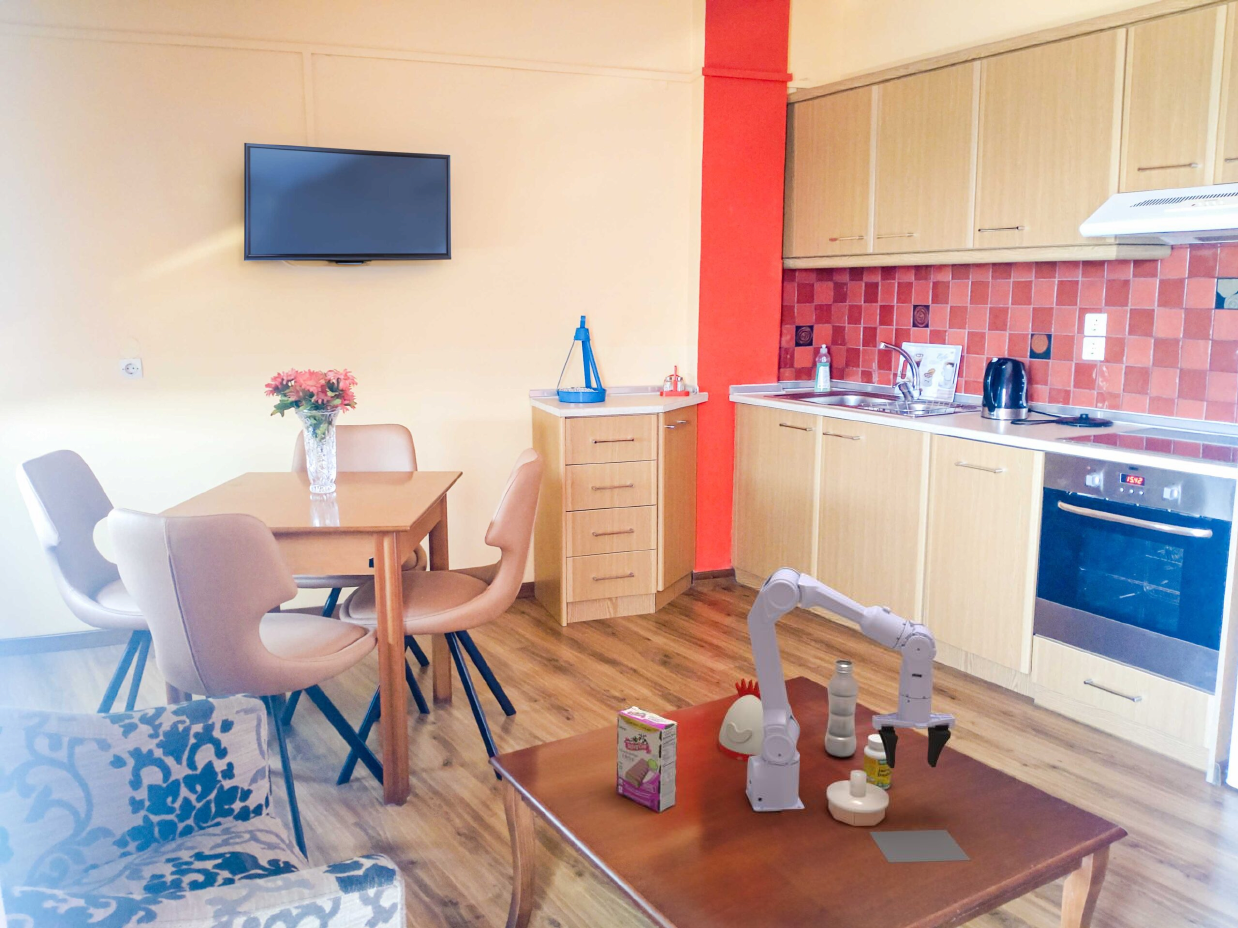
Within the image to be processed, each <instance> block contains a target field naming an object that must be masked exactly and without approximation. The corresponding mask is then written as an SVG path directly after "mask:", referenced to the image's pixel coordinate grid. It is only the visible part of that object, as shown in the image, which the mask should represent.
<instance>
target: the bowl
mask: <svg viewBox="0 0 1238 928" xmlns="http://www.w3.org/2000/svg"><path fill="white" fill-rule="evenodd" d="M828 811H829V812H830V814H831V815H832V817H833V818H834V819H835V820H837V821H840V822H843V823H845V824H848V825H850V826H854V827H858V826H859V827H860V826H862V827H863V826H864V827H865V826H876V825H877V824H878V823H880V822H882V820H883V819H885V817H886V816H885V815H886V814H885V812H886V808H885V809H883V810H881V811H878V812H873V813H858V812H852V811H848V810H844V809H842V808H839V807H837V806H835V805H834V804H832V803H831V802H830V801H829V800H828Z"/></svg>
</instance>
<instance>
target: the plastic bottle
mask: <svg viewBox="0 0 1238 928" xmlns="http://www.w3.org/2000/svg"><path fill="white" fill-rule="evenodd" d="M834 672H835V673H834V674H833V675H832V676H831V678H830V679H829V680H828V683H827V689H826V690H827V698H828V719H827V720H828V721H827V727H826V732H825V738H824V746H825V750H826V752H827V753H828V754H830V755H831V756H834V757H839V758H846V757H850V756H851V757H852V755H853V754H854V753H855V751H856V747H857V737H856V730H855V729H856V728H855V716H856V715H855V713H856V706H857V700H858V694H859V690H860V689H859V683H858V682H857V680H856V679H855V677H854V675H853V673H854V663H853V661H851V660H848V659H838V660H835V662H834Z"/></svg>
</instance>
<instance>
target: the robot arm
mask: <svg viewBox="0 0 1238 928" xmlns="http://www.w3.org/2000/svg"><path fill="white" fill-rule="evenodd" d="M798 604H800V610H803V609H804V610H805V609H810V608H814V607H820V608H821V609H825V610H826V611H828V612H830V613H832V614H835V615H837V616H840V617H841V618H844V619H846V620H847V621H851V622H852V623H855V624H857V625H858V626H859V628H860V631H861V634H862V635H864V636H866V637H868V638H869V639H872V640H873V641H876V642H878V643H880V644H882V645H883V646H884V647H888V648H889V649H892V650H893V651H898V652H900V653H901V655H902V656H901V658H902V659H901V665H900V667H899V681H898V695H897V696H898V697H897V711H894V712H889V713H884V714H876V715H872V722H871V723H872V727H873V728H874V729H875V730H876V731H877V732H878V734H879V735H880V737H881V740H882V743H883V746H884V750H885V755H886V762H887V765H888V766H889V767H890V768H891V769H895V766H896V765H895V764H896V750H897V744H898V740H899V736H898V735H897V734H896V730H895V729H905V728H907V729H910V728H911V729H912V728H913V729H917V730H927V736H928V737H927V738H928V740H927V742H928V745H927V746H928V748H927V764H928V765H929V766H930V767H931V768H936V767H937V763H938V760H939V758H940V756H941V753H942V751H943V749H944V747H945V746H946V744H947V743H948V741H949V740H950V739H951V737H952V736H951V735H952V732H951V731H950V729H955V728H956V727H955V725H956V718H955V716H953V715H952V714H951V713H938V712H932V703H933V702H932V700H933V688H934V687H933V684H934V683H933V682H934V670H933V667H934V660H935V657H936V655H937V649H936V641H935V636H934V634H933V632H932V631H931V629H930V628H928V627H927V626H926V625H925V624H924V623H921V622H915V621H914V620H912V619H909V620H907V619H905V618H903V617H901V616H898V615H897V614H895V613H893V612H891V608H890V607H888V606H886V605H883V606H882V607H880V606H878V605H873V606H869V607H868V606H867V607H865V606H864V605H862V604H861V603H858V602H856V601H854V600H853V599H852V598H849V597H847V596H846V595H844V594H843V593H840V592H839V591H837V590H835V589H833V588H831V587H830V586H828V585H826V584H824V583H823V582H821V581H819V580H817V579H816V578H813V576H811V575H809V574H806V573H803V572H801V573H799V571H797V569H794V568H792V567H786V566H784V567H780V568H778V569H776V570H775V571H773V572H772V574H770V575H769V576H768V578H767V579H765V581H764V583H763V585H762V587H761V588H760V590H759V592H758V594H757V596H756V598H755V601H754V602H753V605H752V606H751V609H750V610H749V612H748V615H747V617H746V619H747V620H746V621H747V622H746V623H747V628H748V633H749V638H750V645H751V651H752V655H753V661H754V667H755V672H756V673H755V674H756V677H757V678H756V679H757V681H758V685H759V691H760V696H761V702H762V707H763V730H764V737H763V740H762V743H761V748H762V751H761V754H759V755H756V756H751V757H749V759H748V762H747V772H746V773H747V775H746V790H745V794H746V795H747V798H748V800H749V803H750V805H751V807H752V809H753V811H754V812H782V811H783V810H801V809H802V810H803V809H805V806H804V804H803V802H802V801H801V798H800V797H799V786H800V785H799V784H800V765H801V764H800V762H801V761H800V760H801V759H800V758H801V755H800V752H799V751H798V749H797V744H798V740H799V737H800V735H801V728H800V727H801V726H800V724H799V723H798V721H797V719H796V718H795V717H794V715H793V711H792V710H793V709H792V707H791V704H790V703H789V699H788V693H787V688H786V682H785V675H784V671H783V665H782V664H783V663H782V660H781V654H780V647H779V641H778V637H777V631H776V630H777V629H776V625H775V624H776V623H777V621H779V619H780V618H781V617H782V616H784V615H786V614H787V613H789V612H791V611H793V610H794V609H795V608H796V607H797V606H798Z"/></svg>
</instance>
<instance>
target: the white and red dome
mask: <svg viewBox="0 0 1238 928" xmlns="http://www.w3.org/2000/svg"><path fill="white" fill-rule="evenodd" d="M734 685H735V688H736V689H735V690H736V691H737V694H738V696H739V698H738V699H737V700H735V701H734V702H733V704H731V706H730V707H729V708H728V709H727V712H726V714H725V716H724V719H723V721H722V724H721V728H720V730H719V734H718V749H719V750H720V752H721V753H722V754H724V755H725V756H727V757H728V758H731V759H734V760H737V761H742V762H747V763H748V759H749V757H751V756H756V755H759V754H761V751H762V748H761V743H762V740H763V737H764V730H763V707H762V702H761V696H760V691H759V685H758V680H756V681H755V683H754V684H753V679H752V678H751V679H750V680H748V684H746V680H745V678H744V677H743V678H741V680H740V684H739V682H738V681H736V682H735V683H734ZM753 685H754V686H753Z"/></svg>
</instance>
